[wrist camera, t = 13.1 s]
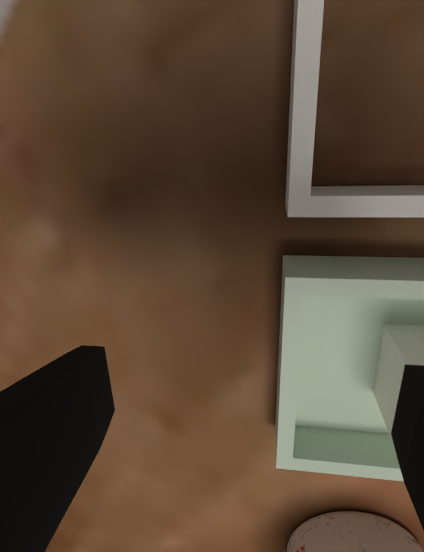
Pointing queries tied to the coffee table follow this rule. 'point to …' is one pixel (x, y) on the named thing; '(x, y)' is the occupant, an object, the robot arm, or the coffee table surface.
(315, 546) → the teacup with lid
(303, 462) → the green bin
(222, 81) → the coffee table surface
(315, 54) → the bin
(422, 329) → the cream block
